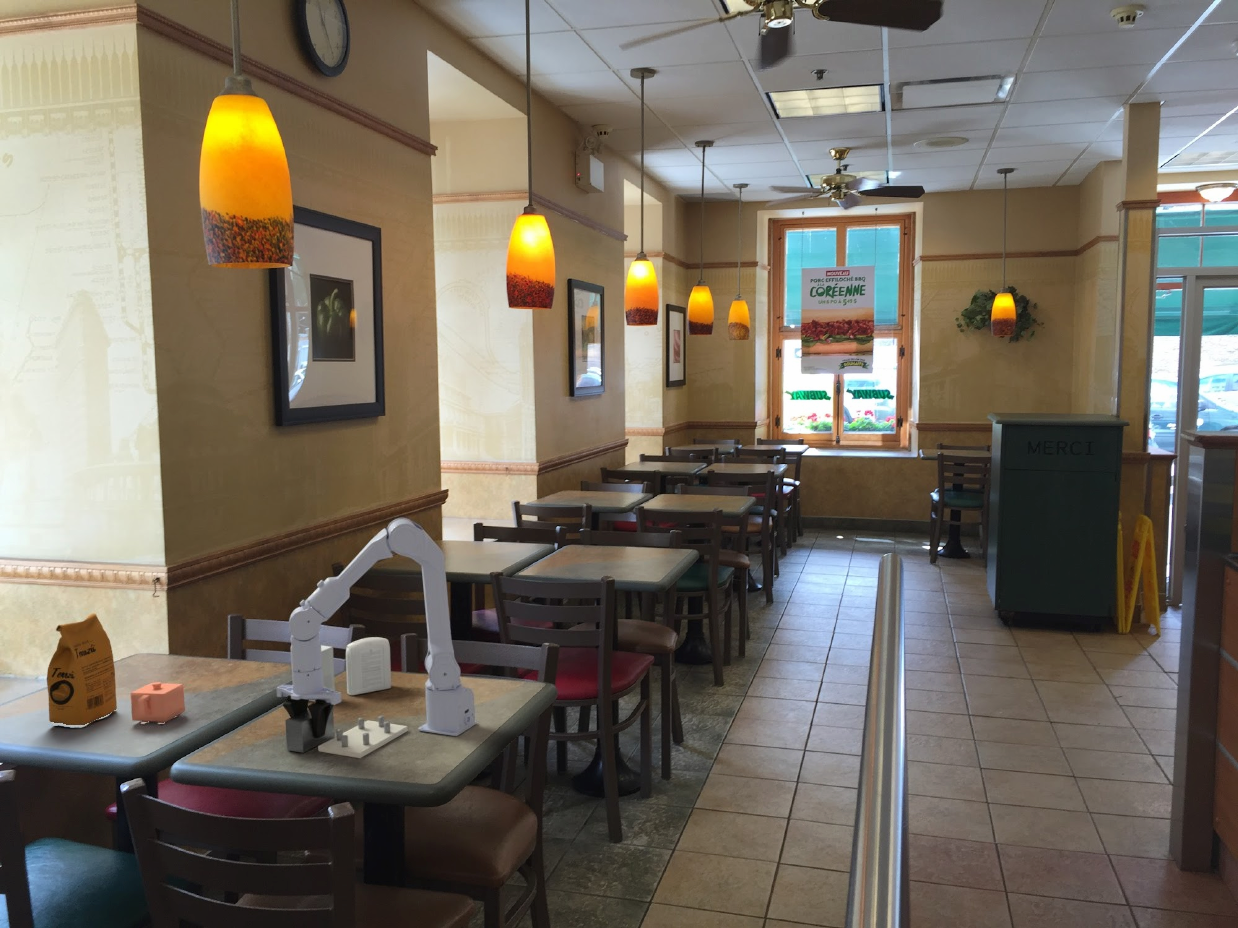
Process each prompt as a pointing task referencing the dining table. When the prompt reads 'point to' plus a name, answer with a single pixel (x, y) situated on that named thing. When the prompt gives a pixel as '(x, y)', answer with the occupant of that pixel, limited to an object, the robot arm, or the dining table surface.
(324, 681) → the skincare box
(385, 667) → the photo printer
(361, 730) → the pin tray
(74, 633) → the coffee package
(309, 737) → the block
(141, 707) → the pink cube teapot
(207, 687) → the dining table surface
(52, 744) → the dining table surface
